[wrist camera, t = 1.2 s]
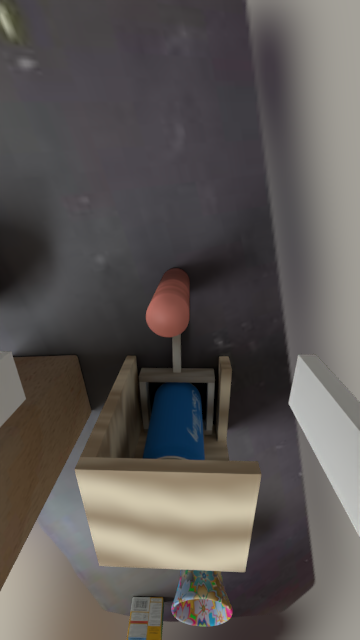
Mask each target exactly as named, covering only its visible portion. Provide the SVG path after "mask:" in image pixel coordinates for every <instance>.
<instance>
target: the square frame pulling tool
mask: <svg viewBox="0 0 360 640" xmlns="http://www.w3.org/2000/svg"><path fill="white" fill-rule="evenodd" d="M189 284H190V282H189V277H188V275H187V273H186V272H185V271H183V270H182V269H179V268H172V269H169V270H168V271H166V272H165V273H164V275H163V277H162V279H161V281H160V283H159V285H158V288H157V290H156V292H155V294H154V296H153V298H152V300H151V302H150V305H149V307H148V309H147V312H146V321H147V324H148V326H149V328H150V329H151V330H152V331H153V332H154V333H156V334H157V335H160V336H163V337H172V349H173V368H141V371H140V375H139V384H140V395H141V406H142V416H143V427H144V433H148V428H149V423H150V418H151V406H150V393H149V382H187V383H207V396H206V419H202V422H203V434H205V435H212V426H213V406H214V386H215V375H214V369H211V368H181V333H182V332H183V331H184V330H185V329H186V327H187V326H188V323H189Z"/></svg>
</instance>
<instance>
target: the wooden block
mask: <svg viewBox="0 0 360 640" xmlns="http://www.w3.org/2000/svg"><path fill="white" fill-rule="evenodd" d="M13 359H14V362H15V365H16V368H17V372H18V375H19V378H20V381H21V384H22V388H23V391H24V394H25V397H26V400H25V401H24V402H23V403H22V404H21V405H20V406H19V407H18V408H17V409H16V411H15V412H14V413H13V414H12V415H11V416H10V417H9V418H8V419H7V420H6V422H5V423H4V424H3V425H2V426H1V427H0V591H1V588H2V587H3V585H4V583H5V581H6V579H7V577H8V575H9V573H10V571H11V569H12V567H13V565H14V563H15V561H16V559H17V557H18V555H19V553H20V551H21V549H22V547H23V545H24V543H25V541H26V539H27V538H28V536H29V533H30V532H31V530H32V528H33V526H34V524H35V522H36V520H37V518H38V516H39V514H40V512H41V510H42V508H43V506H44V504H45V502H46V500H47V498H48V496H49V494H50V492H51V490H52V489H53V487H54V485H55V483H56V481H57V479H58V477H59V475H60V473H61V471H62V469H63V467H64V465H65V463H66V461H67V459H68V457H69V455H70V453H71V451H72V449H73V447H74V445H75V443H76V441H77V439H78V438H79V436H80V434H81V432H82V430H83V428H84V426H85V424H86V422H87V420H88V418H89V416H90V414H91V407H90V403H89V399H88V395H87V391H86V388H85V384H84V380H83V376H82V372H81V368H80V364H79V360H78V357H77V356H76V355H63V356H35V357H13Z"/></svg>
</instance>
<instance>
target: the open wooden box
mask: <svg viewBox="0 0 360 640" xmlns="http://www.w3.org/2000/svg"><path fill="white" fill-rule="evenodd" d="M231 376H232V368H231V364H230V360H229V357H228V356H219V368H218V386H217V405H216V423H215V425H213V426H212V435H205V434H203V438H204V454H205V460H178V459H142V458H143V453H144V448H145V443H146V438H147V433H144V427H143V423H142V414H141V404H140V393H139V383H138V372H137V362H136V356H127V357H126V359H125V361H124V363H123V365H122V367H121V370H120V372H119V374H118V376H117V378H116V381H115V383H114V385H113V387H112V389H111V391H110V394H109V396H108V398H107V400H106V402H105V404H104V407H103V409H102V411H101V413H100V415H99V417H98V420H97V422H96V424H95V426H94V428H93V430H92V433H91V435H90V437H89V439H88V441H87V443H86V446H85V448H84V450H83V452H82V454H81V456H80V459H79V461H78V463H77V465H76V467H75V473H76V477H77V481H78V485H79V489H80V492H81V496H82V500H83V504H84V508H85V512H86V516H87V520H88V523H89V527H90V531H91V535H92V539H93V543H94V547H95V550H96V554H97V558H98V562H99V566H113V567H137V568H160V569H183V570H206V571H230V572H245V569H246V563H247V557H248V551H249V545H250V539H251V533H252V527H253V521H254V515H255V510H256V504H257V498H258V492H259V486H260V480H261V471H260V468H259V464H258V461H229V456H228V450H227V444H226V438H227V426H228V413H229V401H230V388H231Z"/></svg>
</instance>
